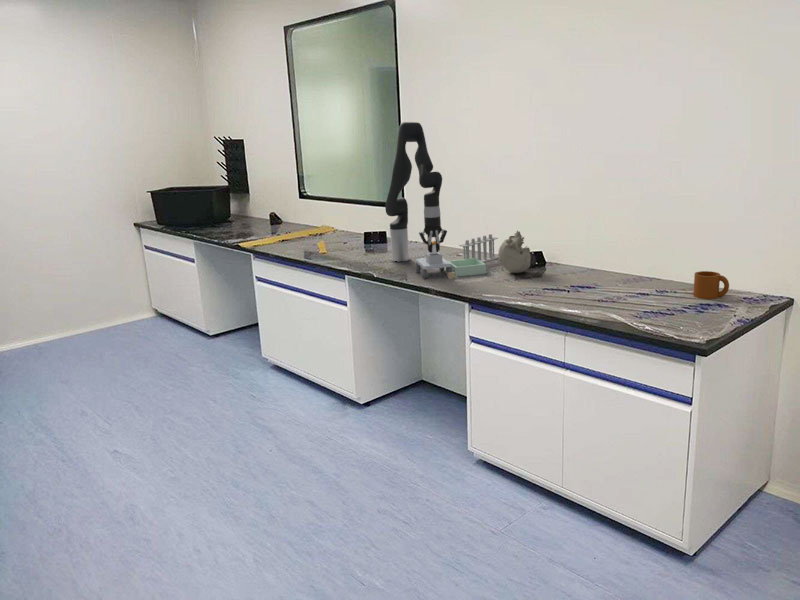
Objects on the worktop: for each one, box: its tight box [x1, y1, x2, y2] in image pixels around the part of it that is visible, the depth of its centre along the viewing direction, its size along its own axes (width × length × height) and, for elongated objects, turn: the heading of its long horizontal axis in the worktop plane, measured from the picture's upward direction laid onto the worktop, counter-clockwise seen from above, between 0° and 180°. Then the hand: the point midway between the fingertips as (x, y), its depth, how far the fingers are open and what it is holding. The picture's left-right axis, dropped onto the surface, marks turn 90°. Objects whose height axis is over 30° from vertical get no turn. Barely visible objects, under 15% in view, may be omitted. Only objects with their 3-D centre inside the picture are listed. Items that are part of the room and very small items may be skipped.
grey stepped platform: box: [414, 252, 456, 280], centre depth 298 cm, size 20×14×10 cm
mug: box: [692, 270, 730, 300], centre depth 239 cm, size 9×12×9 cm
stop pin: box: [431, 240, 437, 255], centre depth 294 cm, size 3×3×10 cm
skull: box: [497, 230, 531, 274], centre depth 291 cm, size 13×15×20 cm
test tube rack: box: [458, 233, 499, 264], centre depth 317 cm, size 25×4×13 cm, turn 132°
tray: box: [447, 257, 487, 278], centre depth 301 cm, size 15×15×4 cm
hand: (433, 251), depth 294 cm, fingers closed on stop pin, 2 cm apart
